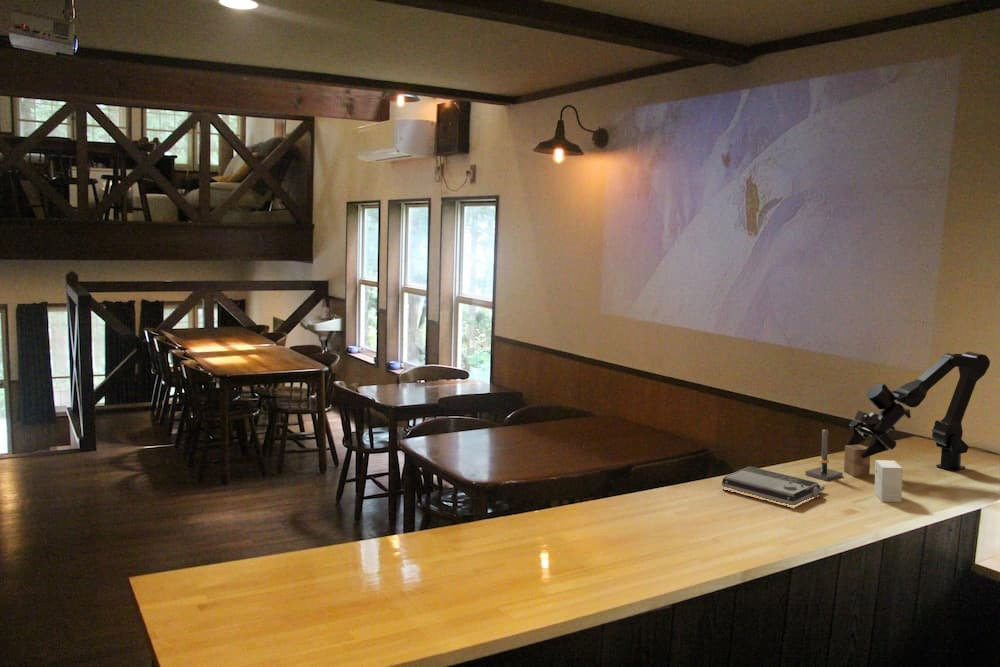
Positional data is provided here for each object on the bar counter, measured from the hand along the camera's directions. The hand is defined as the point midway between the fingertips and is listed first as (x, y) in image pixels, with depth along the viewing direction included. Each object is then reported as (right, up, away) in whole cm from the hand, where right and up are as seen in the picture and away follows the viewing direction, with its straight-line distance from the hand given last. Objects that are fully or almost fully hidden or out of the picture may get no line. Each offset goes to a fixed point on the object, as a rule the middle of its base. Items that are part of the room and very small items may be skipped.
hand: (854, 453), depth 256 cm
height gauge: (-10, -7, 0) cm, 12 cm away
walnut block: (+1, -7, +1) cm, 7 cm away
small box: (0, -10, -22) cm, 24 cm away
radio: (-31, -10, -14) cm, 35 cm away
